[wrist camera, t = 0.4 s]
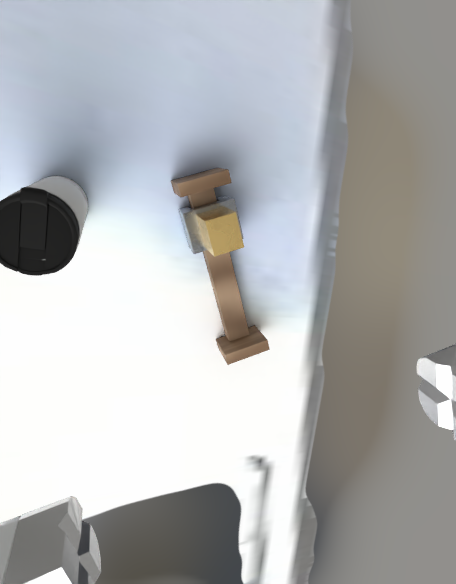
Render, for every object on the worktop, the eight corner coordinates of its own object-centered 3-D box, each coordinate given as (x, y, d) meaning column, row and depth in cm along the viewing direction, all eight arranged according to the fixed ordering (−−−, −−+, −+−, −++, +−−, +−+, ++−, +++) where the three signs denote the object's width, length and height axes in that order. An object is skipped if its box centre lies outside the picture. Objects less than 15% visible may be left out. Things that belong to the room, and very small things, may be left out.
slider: (177, 209, 51) (190, 220, 43) (226, 195, 52) (247, 203, 44) (188, 247, 53) (202, 264, 45) (235, 233, 54) (257, 247, 46)
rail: (170, 180, 50) (177, 184, 45) (217, 167, 51) (228, 169, 46) (218, 348, 59) (227, 364, 54) (257, 334, 60) (269, 349, 55)
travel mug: (91, 178, 47) (82, 196, 29) (85, 234, 49) (73, 285, 31) (31, 167, 45) (-18, 180, 27) (27, 226, 47) (-21, 275, 29)
